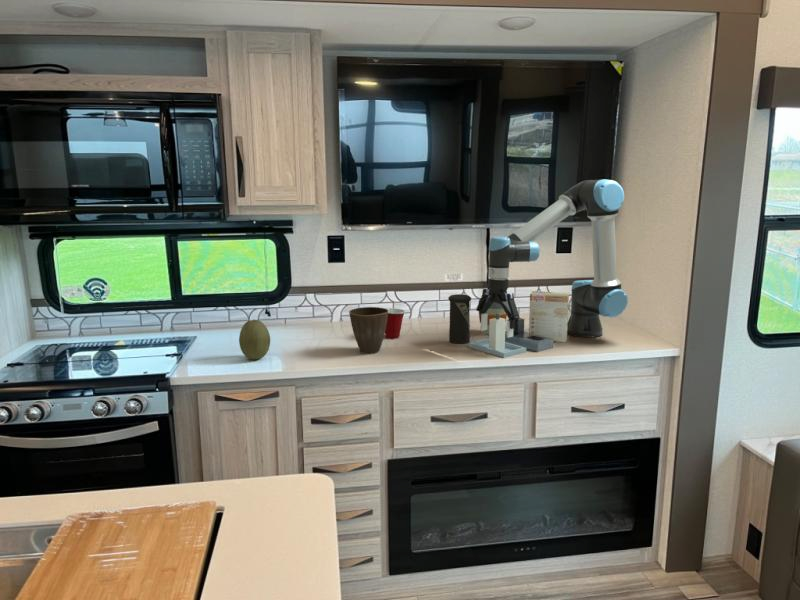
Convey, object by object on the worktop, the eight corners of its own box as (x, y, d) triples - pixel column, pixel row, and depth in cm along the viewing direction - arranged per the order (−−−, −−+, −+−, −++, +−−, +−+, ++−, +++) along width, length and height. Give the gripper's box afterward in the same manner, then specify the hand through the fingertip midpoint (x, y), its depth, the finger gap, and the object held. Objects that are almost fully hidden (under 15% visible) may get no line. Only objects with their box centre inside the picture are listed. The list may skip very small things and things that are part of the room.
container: (464, 347, 234) (465, 297, 231) (444, 344, 239) (444, 295, 235) (473, 342, 242) (474, 294, 238) (454, 339, 246) (454, 292, 243)
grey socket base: (514, 339, 245) (515, 309, 243) (553, 350, 229) (554, 317, 227) (498, 343, 240) (499, 312, 237) (537, 354, 224) (538, 320, 222)
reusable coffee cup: (485, 338, 248) (486, 303, 245) (472, 331, 260) (473, 297, 257) (512, 335, 252) (513, 301, 249) (498, 329, 263) (499, 296, 261)
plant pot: (375, 358, 220) (375, 316, 217) (342, 353, 227) (341, 312, 224) (395, 349, 233) (395, 309, 230) (363, 344, 240) (362, 305, 237)
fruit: (276, 355, 225) (274, 317, 222) (262, 364, 215) (260, 323, 212) (249, 353, 228) (247, 315, 225) (234, 362, 217) (231, 322, 215)
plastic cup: (409, 339, 248) (409, 311, 246) (384, 341, 245) (383, 312, 242) (401, 333, 258) (400, 306, 256) (377, 335, 255) (376, 307, 252)
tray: (490, 344, 239) (490, 337, 238) (526, 354, 224) (526, 347, 223) (468, 349, 232) (468, 342, 231) (504, 359, 217) (504, 353, 216)
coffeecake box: (567, 338, 246) (569, 292, 243) (565, 342, 240) (568, 295, 236) (530, 335, 251) (532, 290, 248) (528, 340, 245) (529, 293, 241)
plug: (498, 347, 231) (498, 312, 228) (504, 349, 228) (505, 313, 225) (488, 349, 228) (489, 314, 225) (495, 351, 225) (496, 315, 222)
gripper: (468, 275, 230) (466, 328, 234) (516, 283, 211) (514, 341, 214) (482, 273, 235) (480, 326, 239) (530, 281, 215) (528, 338, 219)
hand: (496, 333), depth 226 cm, fingers open, 13 cm apart
